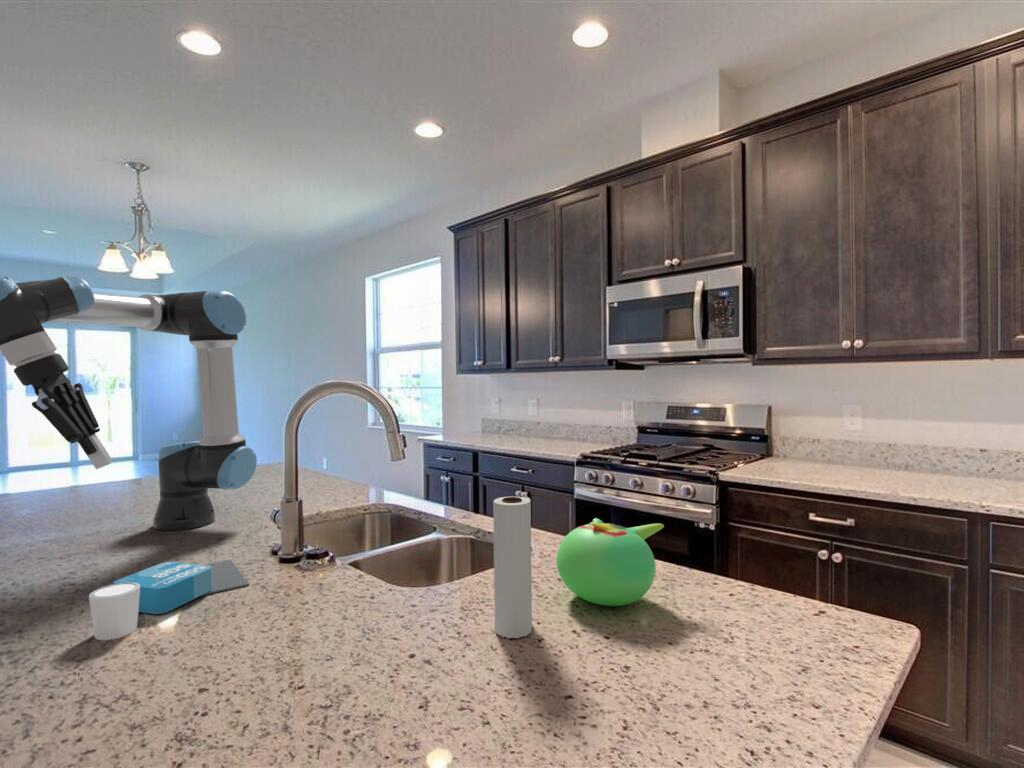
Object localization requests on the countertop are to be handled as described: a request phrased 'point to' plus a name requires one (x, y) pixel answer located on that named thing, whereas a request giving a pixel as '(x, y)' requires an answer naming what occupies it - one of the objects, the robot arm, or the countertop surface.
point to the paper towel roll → (512, 566)
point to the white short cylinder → (115, 610)
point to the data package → (170, 585)
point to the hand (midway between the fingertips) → (104, 465)
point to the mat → (226, 577)
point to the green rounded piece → (607, 562)
